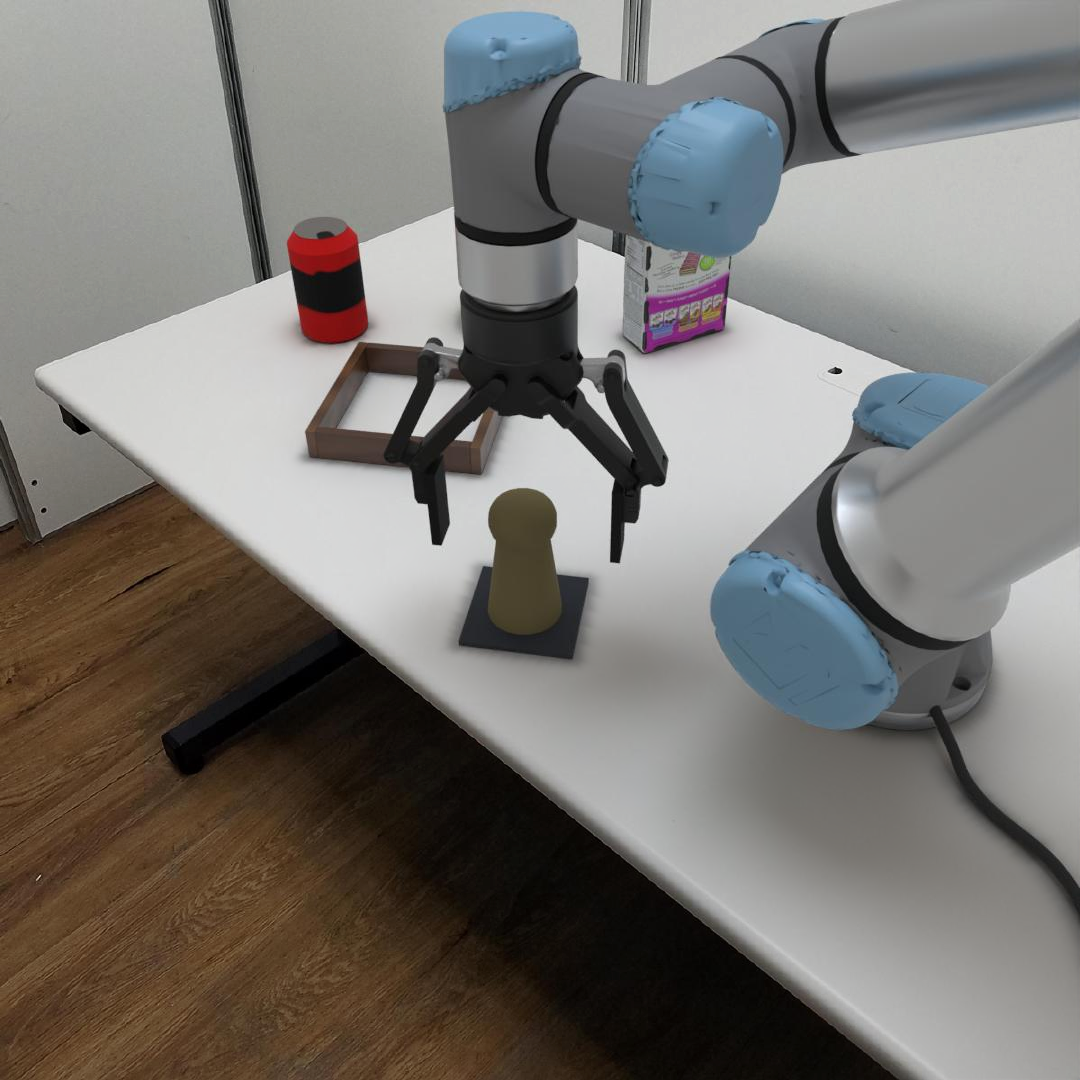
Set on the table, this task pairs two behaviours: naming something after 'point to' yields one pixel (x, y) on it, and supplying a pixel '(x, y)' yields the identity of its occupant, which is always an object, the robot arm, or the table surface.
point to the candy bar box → (671, 295)
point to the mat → (545, 643)
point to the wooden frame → (372, 445)
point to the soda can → (328, 279)
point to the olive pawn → (523, 563)
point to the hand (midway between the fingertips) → (528, 543)
